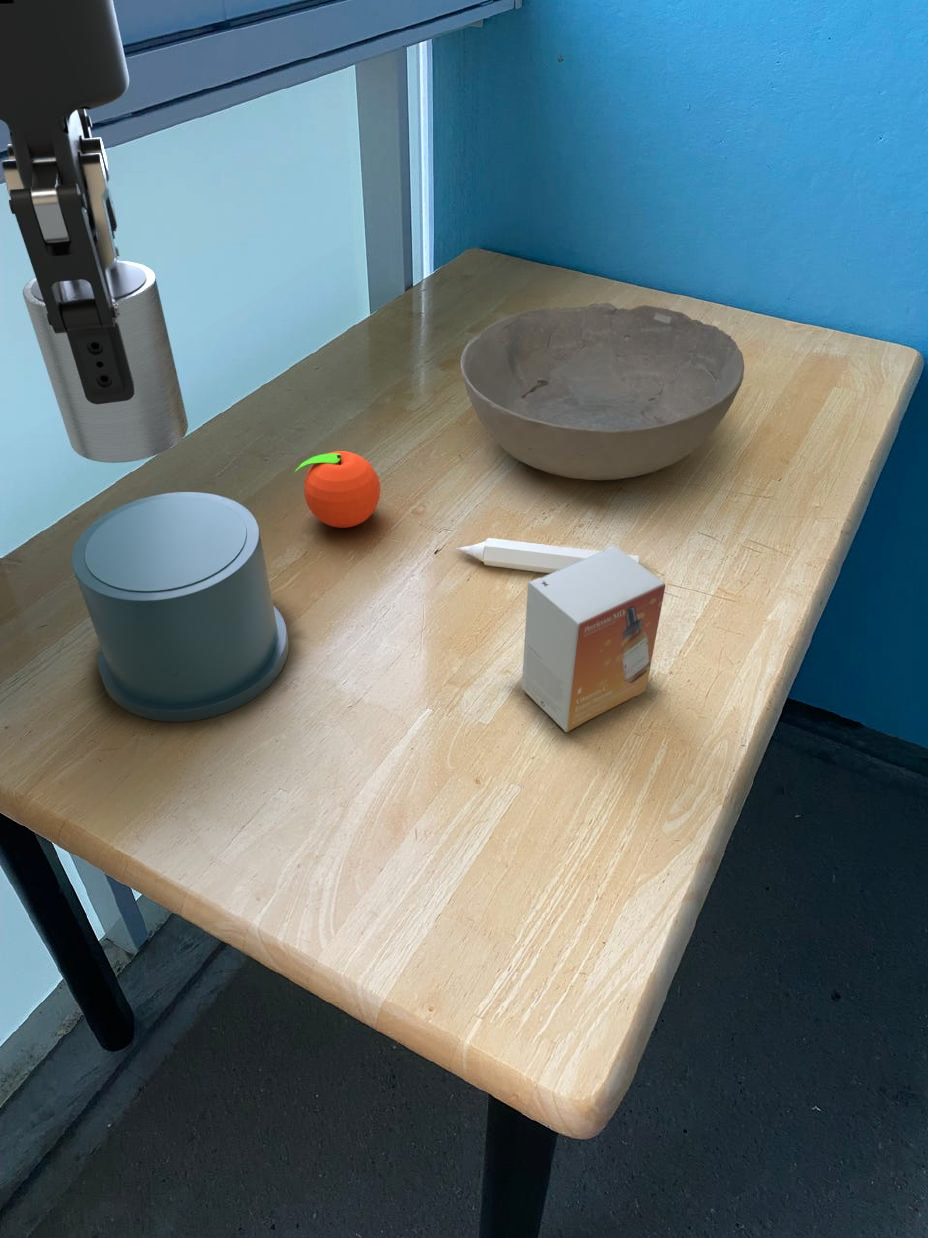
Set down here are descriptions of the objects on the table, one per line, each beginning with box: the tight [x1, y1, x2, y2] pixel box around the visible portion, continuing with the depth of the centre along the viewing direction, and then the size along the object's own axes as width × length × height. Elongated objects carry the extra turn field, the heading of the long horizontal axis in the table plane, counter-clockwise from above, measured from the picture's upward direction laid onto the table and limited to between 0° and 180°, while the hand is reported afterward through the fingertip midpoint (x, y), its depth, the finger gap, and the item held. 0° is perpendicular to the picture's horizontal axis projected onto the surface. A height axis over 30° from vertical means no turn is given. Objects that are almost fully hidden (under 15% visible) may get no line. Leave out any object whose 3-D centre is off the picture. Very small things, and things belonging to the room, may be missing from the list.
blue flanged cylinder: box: [71, 491, 290, 723], centre depth 70 cm, size 14×14×11 cm
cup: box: [22, 260, 189, 464], centre depth 46 cm, size 6×6×8 cm
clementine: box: [291, 450, 381, 529], centre depth 85 cm, size 8×7×7 cm
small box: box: [521, 545, 666, 733], centre depth 67 cm, size 8×6×10 cm
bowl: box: [460, 302, 745, 481], centre depth 95 cm, size 28×28×10 cm
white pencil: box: [454, 537, 640, 574], centre depth 81 cm, size 3×2×16 cm
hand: (112, 367), depth 47 cm, fingers closed on cup, 6 cm apart
